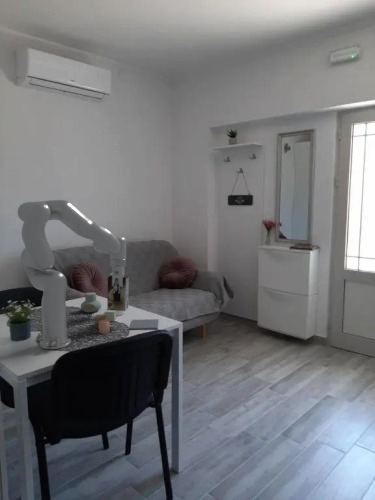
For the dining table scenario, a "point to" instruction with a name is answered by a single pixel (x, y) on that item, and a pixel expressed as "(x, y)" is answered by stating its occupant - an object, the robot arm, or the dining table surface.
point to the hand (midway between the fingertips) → (117, 299)
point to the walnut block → (99, 319)
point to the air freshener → (90, 303)
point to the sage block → (110, 315)
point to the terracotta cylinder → (104, 326)
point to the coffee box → (123, 295)
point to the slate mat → (144, 324)
